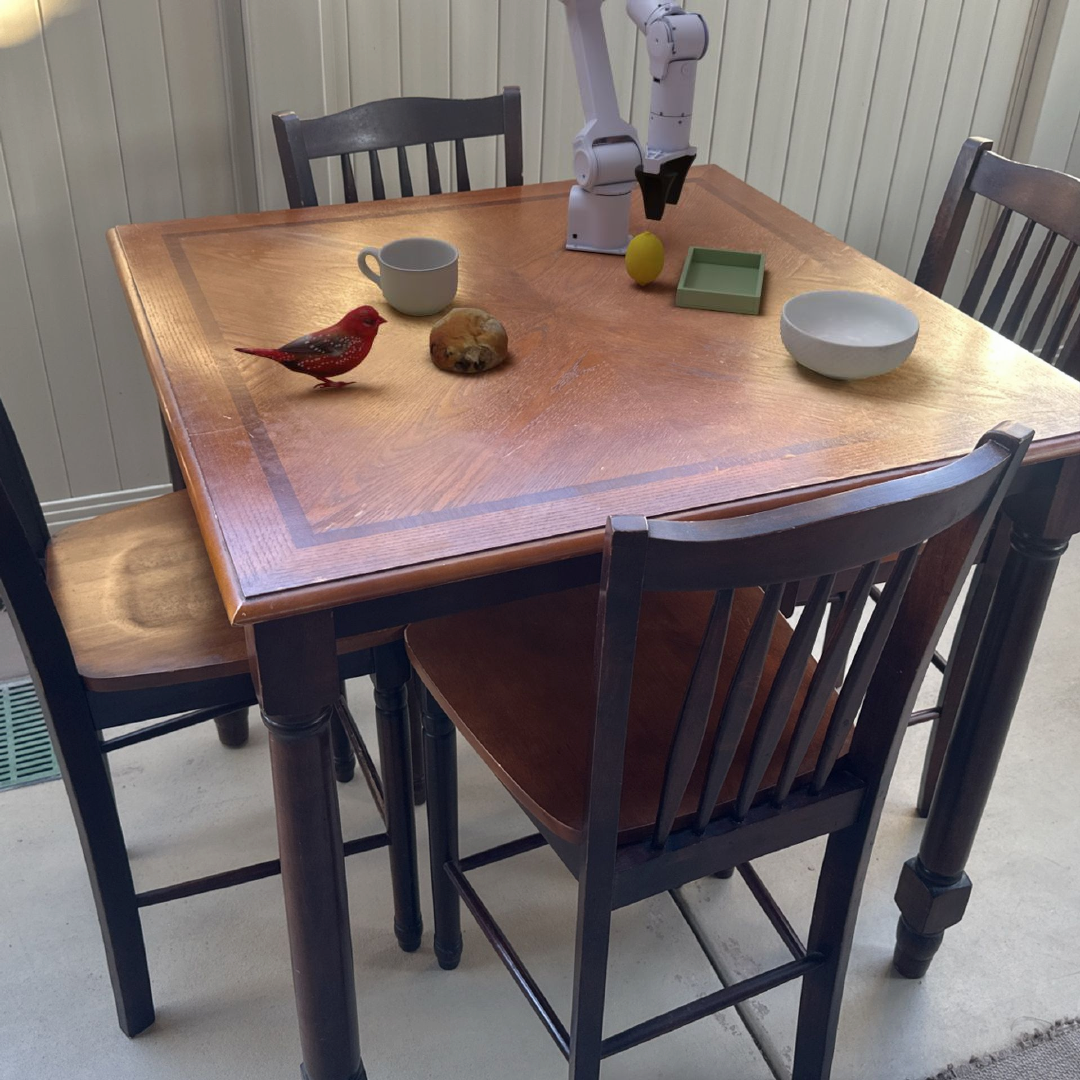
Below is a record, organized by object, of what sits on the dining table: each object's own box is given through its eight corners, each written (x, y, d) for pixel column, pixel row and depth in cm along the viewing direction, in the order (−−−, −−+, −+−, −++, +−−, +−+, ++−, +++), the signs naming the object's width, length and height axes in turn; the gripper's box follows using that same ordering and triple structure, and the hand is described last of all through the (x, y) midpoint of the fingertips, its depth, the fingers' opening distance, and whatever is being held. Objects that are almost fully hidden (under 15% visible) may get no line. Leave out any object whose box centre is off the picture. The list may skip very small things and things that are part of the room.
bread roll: (513, 379, 145) (523, 317, 144) (487, 378, 135) (498, 311, 134) (442, 366, 148) (452, 305, 146) (411, 364, 138) (421, 298, 137)
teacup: (473, 301, 157) (472, 245, 152) (434, 329, 149) (433, 271, 144) (387, 282, 161) (384, 228, 157) (345, 309, 153) (340, 252, 149)
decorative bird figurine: (393, 387, 135) (389, 308, 129) (241, 403, 130) (230, 322, 125) (388, 376, 137) (384, 299, 131) (239, 392, 133) (228, 312, 127)
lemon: (662, 293, 161) (668, 239, 156) (624, 292, 161) (628, 237, 156) (660, 279, 166) (665, 225, 161) (622, 277, 166) (626, 224, 161)
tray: (675, 306, 157) (677, 288, 156) (688, 262, 171) (689, 245, 170) (757, 315, 156) (760, 297, 154) (763, 270, 170) (766, 253, 168)
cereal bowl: (765, 336, 150) (773, 285, 146) (891, 341, 150) (902, 290, 146) (784, 395, 136) (793, 341, 132) (922, 400, 136) (936, 346, 132)
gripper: (684, 128, 145) (673, 231, 153) (714, 103, 157) (703, 200, 164) (632, 121, 148) (624, 223, 155) (665, 97, 159) (657, 193, 166)
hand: (661, 211), depth 160 cm, fingers open, 7 cm apart
